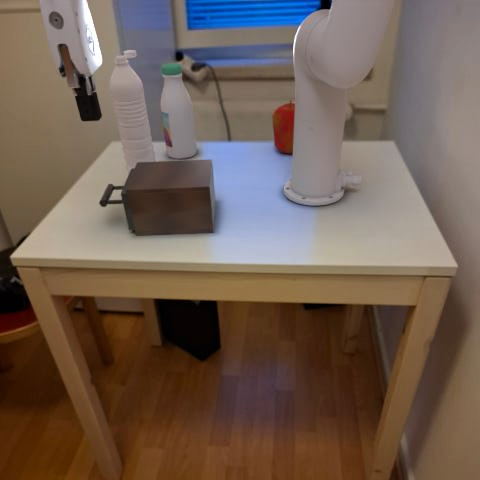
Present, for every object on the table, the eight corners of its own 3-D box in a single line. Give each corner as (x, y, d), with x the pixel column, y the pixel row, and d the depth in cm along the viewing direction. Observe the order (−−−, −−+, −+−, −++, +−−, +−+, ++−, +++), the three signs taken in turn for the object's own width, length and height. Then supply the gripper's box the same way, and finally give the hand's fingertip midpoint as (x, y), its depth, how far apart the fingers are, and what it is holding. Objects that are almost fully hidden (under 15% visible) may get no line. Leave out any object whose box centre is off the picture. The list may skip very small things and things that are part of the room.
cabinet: (135, 235, 81) (125, 189, 75) (145, 205, 90) (137, 162, 84) (213, 232, 81) (209, 186, 75) (215, 202, 90) (212, 159, 84)
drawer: (103, 231, 81) (92, 194, 77) (114, 204, 90) (106, 169, 85) (201, 227, 81) (197, 190, 76) (203, 200, 89) (200, 165, 84)
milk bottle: (200, 148, 113) (191, 60, 100) (193, 159, 108) (183, 68, 94) (171, 147, 114) (159, 61, 101) (163, 159, 109) (149, 68, 95)
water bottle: (152, 189, 96) (128, 59, 80) (125, 187, 98) (96, 59, 81) (166, 172, 102) (147, 49, 86) (140, 171, 104) (117, 49, 87)
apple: (272, 144, 114) (273, 95, 106) (305, 144, 113) (308, 94, 105) (270, 157, 107) (271, 105, 99) (305, 157, 106) (308, 105, 98)
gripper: (69, -14, 55) (104, 134, 68) (96, -24, 67) (122, 105, 79) (11, -12, 56) (56, 136, 68) (47, -21, 67) (81, 107, 79)
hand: (91, 119), depth 73 cm, fingers closed
